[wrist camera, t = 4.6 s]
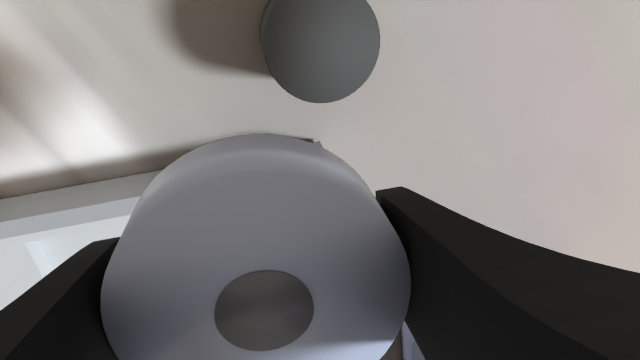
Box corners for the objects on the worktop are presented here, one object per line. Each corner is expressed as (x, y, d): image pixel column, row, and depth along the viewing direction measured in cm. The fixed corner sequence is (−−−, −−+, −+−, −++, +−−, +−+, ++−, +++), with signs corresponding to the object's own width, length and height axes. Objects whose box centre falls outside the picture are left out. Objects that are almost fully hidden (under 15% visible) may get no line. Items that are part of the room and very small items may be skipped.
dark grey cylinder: (351, -27, 17) (375, -29, 14) (360, 74, 19) (383, 92, 16) (251, -13, 17) (252, -10, 14) (269, 89, 19) (275, 111, 15)
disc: (377, 113, 9) (409, 146, 7) (388, 324, 11) (415, 387, 9) (87, 159, 8) (45, 207, 6) (166, 370, 11) (151, 446, 9)
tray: (319, 141, 20) (328, 161, 18) (344, 317, 24) (354, 350, 22) (-93, 216, 18) (-138, 247, 16) (17, 389, 23) (-7, 431, 21)
